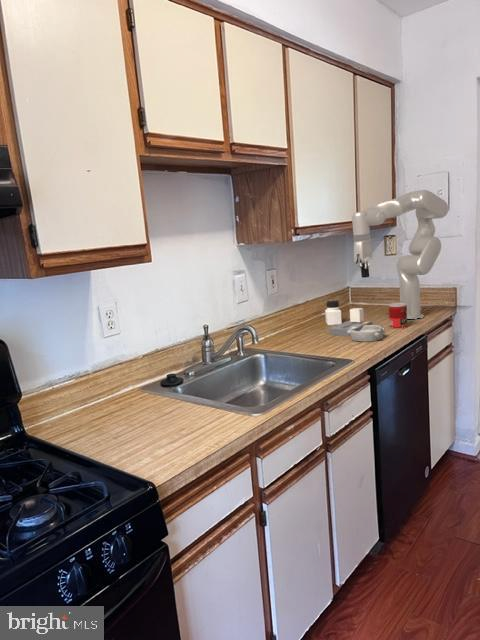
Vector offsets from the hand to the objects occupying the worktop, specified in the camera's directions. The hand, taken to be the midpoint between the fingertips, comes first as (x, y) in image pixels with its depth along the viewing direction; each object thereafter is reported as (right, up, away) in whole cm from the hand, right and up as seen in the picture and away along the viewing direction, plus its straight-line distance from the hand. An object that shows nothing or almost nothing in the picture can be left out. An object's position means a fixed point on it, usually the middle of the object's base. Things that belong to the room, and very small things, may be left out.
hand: (365, 277), depth 224 cm
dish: (-4, -29, -19) cm, 35 cm away
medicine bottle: (-11, -22, +20) cm, 32 cm away
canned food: (+15, -24, -2) cm, 28 cm away
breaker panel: (-7, -26, -1) cm, 27 cm away
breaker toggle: (-3, -21, +3) cm, 21 cm away
